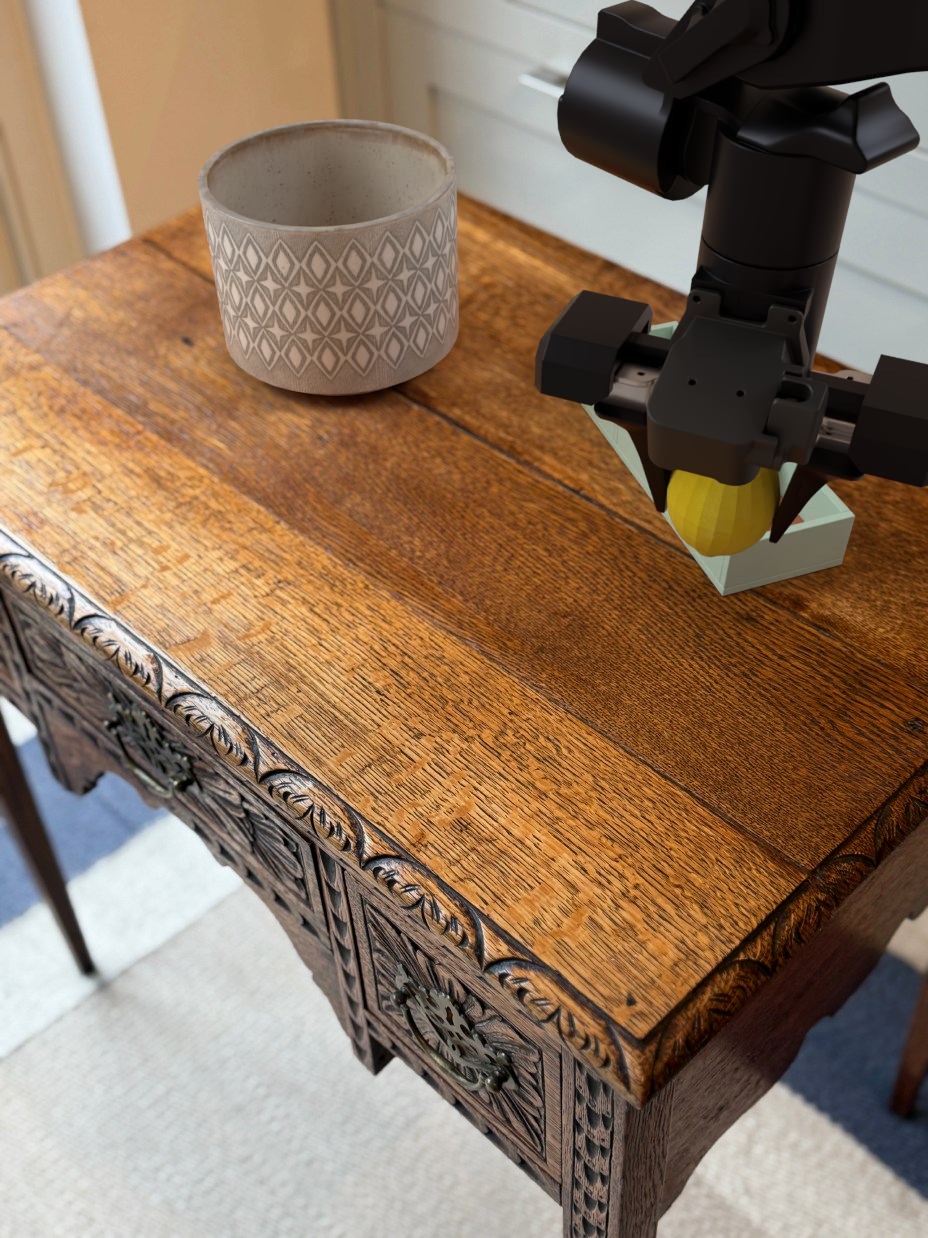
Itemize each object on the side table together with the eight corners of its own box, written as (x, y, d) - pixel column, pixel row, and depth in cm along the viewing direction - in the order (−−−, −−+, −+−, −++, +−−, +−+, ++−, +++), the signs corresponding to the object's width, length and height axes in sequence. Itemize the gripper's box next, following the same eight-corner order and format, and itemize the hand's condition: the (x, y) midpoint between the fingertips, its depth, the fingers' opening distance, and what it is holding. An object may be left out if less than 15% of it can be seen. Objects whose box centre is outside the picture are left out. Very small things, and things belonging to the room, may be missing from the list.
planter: (446, 278, 103) (442, 111, 92) (472, 400, 89) (471, 220, 79) (230, 294, 101) (202, 125, 91) (225, 420, 88) (191, 239, 78)
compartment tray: (841, 564, 76) (855, 515, 73) (722, 596, 74) (731, 547, 71) (670, 366, 92) (676, 320, 90) (568, 388, 90) (571, 341, 88)
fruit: (767, 594, 59) (797, 467, 54) (656, 583, 60) (675, 457, 54) (764, 523, 63) (792, 398, 58) (660, 514, 64) (678, 389, 58)
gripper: (488, 280, 47) (486, 570, 58) (975, 387, 41) (871, 685, 52) (586, 168, 54) (568, 445, 65) (1013, 246, 48) (914, 535, 59)
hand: (717, 522), depth 60 cm, fingers closed on fruit, 5 cm apart
